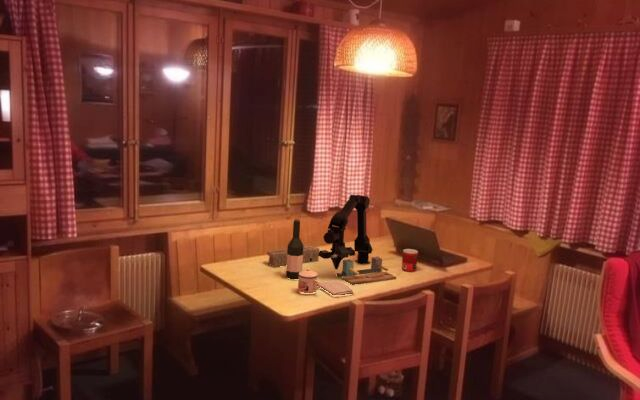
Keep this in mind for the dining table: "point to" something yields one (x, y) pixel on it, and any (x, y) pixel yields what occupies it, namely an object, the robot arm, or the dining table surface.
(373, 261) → the gauge rail
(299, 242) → the wine bottle
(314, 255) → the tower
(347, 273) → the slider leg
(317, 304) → the dining table surface
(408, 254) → the canned food
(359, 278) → the hole board
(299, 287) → the teacup with lid
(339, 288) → the washcloth
